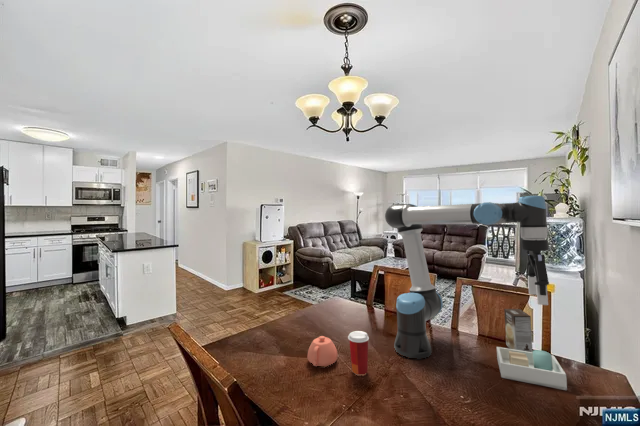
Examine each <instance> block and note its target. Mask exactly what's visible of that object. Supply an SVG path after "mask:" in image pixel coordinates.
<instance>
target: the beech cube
mask: <svg viewBox="0 0 640 426" xmlns="http://www.w3.org/2000/svg"><path fill="white" fill-rule="evenodd" d="M509 360H510V364H515V365H521V366H526V367H529V363H528V358H527V356H526V354H524V353H518V352H511V351H509Z"/></svg>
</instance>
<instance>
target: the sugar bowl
mask: <svg viewBox="0 0 640 426" xmlns="http://www.w3.org/2000/svg"><path fill="white" fill-rule="evenodd" d="M338 357H339V355H338V349H337V348H336V346H335V344H334V342H333V340H331V338H329V337H326V336H324V335H321V336H318V337H317V338H316V337H315V338H314V339H313V340H312V341H311V344H310V346H309V348H308V349H307V360H308V362H309V363H310V364H311V363H312V364H313V365H312V364H311V365H312V366H314V367H317V366H328V365H330V366H332V365H334V364H335V362H337V360H338ZM333 363H334V364H333ZM331 364H332V365H331ZM328 367H329V366H328Z"/></svg>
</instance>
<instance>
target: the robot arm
mask: <svg viewBox="0 0 640 426" xmlns="http://www.w3.org/2000/svg"><path fill="white" fill-rule="evenodd" d="M384 219H385V222H386V223H387V225H388V226H389V227H391V228H394V229H397V233H398V235H400V236H401V238H402V243H403V246H404V252H405V258H406V262H407V267H408V272H409V277H410V282H411V287H410V288H409V292H407V293H402V294H401V293H400V294H399V295H398V296H397V298H396V304H395V305H396V306H395V307H396V320H397V321H396V323H397V333H396V336H395V340H394V345H393V346H394V347H393V348H395V350H396V352H398V353H399V354H401V355H403V356H406V357H409V358H417V359H416V360H422V359H421V358H425V359H427V358H426V357H428V358H429V356H430V355H431V356H432V354H431V353H432V346H431V343H430V341H429V338H428V335H427V326H426V323H427V321H429V320H431V319H432V318H434V317H436V316H438V315H439V313H440V312H441V311H442V309H443V306H444V301H443V299H442V297H441V295H440V293H438V292H437V289H436V286H435V285H433V284H432V283H431V278H430V271H429V269H428V268H429V266H428V264H427V259H426V254H425V249H424V248H425V247H424V244H423V241H422V235H421V232H422V231H423V230H424V229H423V225H486V226H490V225H497V224H517V223H518V224H520V225H519V226H520V227H519V228H520V229H519V232H520V238H521V240H520V241H521V244H520V245H521V249H522V250H523V251H526V271H525V272H526V274H527V284H528V294H529V295H534V296H535V295H536V300H537V303H536V304H537V305H538V306H539V305H540V306H549V296H548V285H550V282H549V278H548V272H547V271H548V270H547V265H546V260H545V259H546V258H545V254H542V252H543V251H544V252H547V251H548V250H549V240H548V233H550V229H548V228H547V227H548V226H547V224H548V222H547V219H548V218H547V206H546V199H545V197H544V196H543V195H527V196H520V197H518V201H515V202H509V203H507V202H505V203H504V202H503V203H497V202H496V203H495V202H491V201H490V202H481V203H464V204H463V203H461V204H444V205H442V204H441V205H423V206H421V205H420V206H418V205H416V204H414V203H394V204H391V205H390V206H389V207H388V208H386V211H385V214H384ZM395 350H394V351H395ZM396 352H395V353H396ZM399 354H398V355H399ZM403 356H402V357H403ZM431 356H430V357H431ZM409 358H408V359H409Z"/></svg>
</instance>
